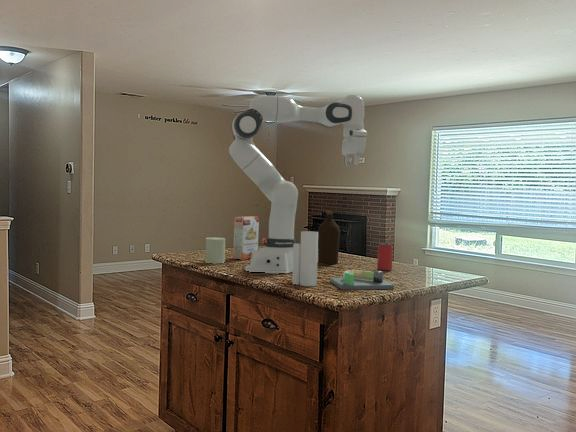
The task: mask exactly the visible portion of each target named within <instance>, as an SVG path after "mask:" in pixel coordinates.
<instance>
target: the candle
mask: <svg viewBox="0 0 576 432" xmlns="http://www.w3.org/2000/svg"><path fill="white" fill-rule="evenodd" d="M291 281H292V282H291V283H292V285H294V284H296V285H295V286H303V287H315V286H317V285H318V284H317V283H318V231H314V230H313V231H308V230H307V231H306V230H305V231H304V230H303V231H300V243H298V242H297V243H296V242H295V243H294V244H293V272H292V279H291ZM299 284H300V285H299Z"/></svg>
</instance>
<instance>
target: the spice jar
mask: <svg viewBox="0 0 576 432" xmlns="http://www.w3.org/2000/svg"><path fill="white" fill-rule="evenodd" d="M351 273H352V274H354V278H357V279H364V280H371V281H374V282H383V280H384V271H382V270H374V271H370V270H361V269H354V268H353V269H351Z"/></svg>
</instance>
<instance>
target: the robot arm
mask: <svg viewBox="0 0 576 432" xmlns="http://www.w3.org/2000/svg"><path fill="white" fill-rule="evenodd" d="M364 119H365V102H364V99H363V98H362V97H361V96H358V95H352V94H350V95H346V96H345V97H343V98H342V99H339V100H337V101H332V102H330V103H329V104H327V105H324V106H321V107H309V106H303V105H302V106H301V105H299V104H297V103H296V102H295V101H294V99H292V98H291V97H286V96H283V95H282V96H281V95H258V96H257V95H256V96H254V97H253V98H252V99H251V100H250V102H249V108H248V109H247V110H245V111H243V112H241V113H239V114H237V115H236V116H235V117H234V119H233V120H232V122H231V131H232V135H233V141H232V143H230V146H229V148H228V153H229V155H230V157H231V158H232V159H233V162H235V164H237V166H238V167H239V168H240V169H241V170H242V172H243V173H245V174H246V176H247V177H248V178H249V179H250V180H251V181H252V182H253V183H254V184H255V186H256V187H257V188H258V189H259V190H260V191H261V193H263V195H264V196H265V197H266V199H268V200H269V201H270V202H271V206H270V213H269V218H268V237H267V238H265V237H263V238H262V239H261V242H262V243H263V247H261V248H259V249H258V251H257V252H256V253H255V254H253V256H252V258H251V259H250V263H249V265H246V266H245V268H244V270H245V272H247V271H249V272H248V273H250V272H265V273H264V274H279V273H286V274H289V273H293V244H294V243H296V238H295V221H296V212H297V206H298V198H299V190H298V188H297V186H296V185H295V184H294V183H293V182H291V181H289V180H285V179H284V177H283V176H282V175H281V174H280V172H279V171H278V170H277V169H276V166H275V165H274V164H273V163H272V162H271V161H270V160H269V159H268V158H267V157H266V156H265V155H264V154H263V153H262V152H261V151H260V150H259V149H258V148H257V147H256V145H255V143H254V141H253V138H254V137H255V136H256V135H257V134H258V133H259V131H260V128H261V126H262V124H263V123H265V122H266V123H267V122H269V123H271V122H272V123H289V122H290V123H291V122H297V121H298V122H299V121H300V122H309V123H310V122H311V123H316V124H319V125H321V126H323V127H325V128H329V129H330V128H334V127H336V126H337V125H340V124H341V125H343V134H342V136H343V139H342V144H341V155H342V156H344V157H345V164H346V166H351V165H352V161H351V160H352V159H351V157H352V156H354V160H353V166H358V165H359V164H360V159H361V155H363V154H365V152H366V149H367V147H366V146H367V138H366V137H368V131H367V130H365V125H364Z"/></svg>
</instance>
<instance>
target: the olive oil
mask: <svg viewBox="0 0 576 432" xmlns="http://www.w3.org/2000/svg"><path fill="white" fill-rule="evenodd" d="M333 217H334V214H333V211H329V210H327V211H326V212H325V220H324V221H322V223H321V224H320V225H319V227H318V229H317V232H318V257H317V264H320V265H331V266H332V265H337V264H338V263H339V262H338V261H339V249H340V238H341V230H340V226H339V225H338V224H337V223H336V221H335V220H334V218H333Z"/></svg>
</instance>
